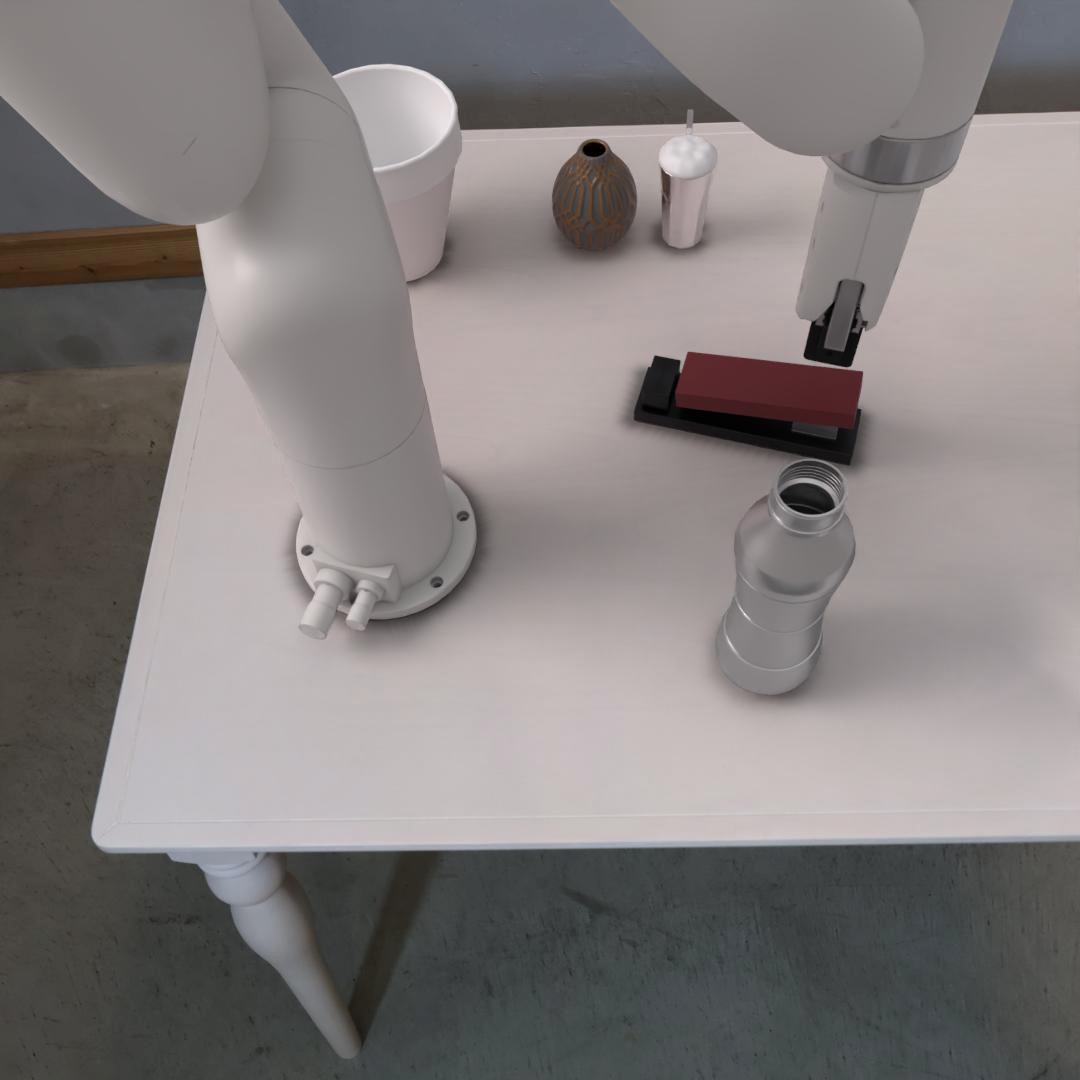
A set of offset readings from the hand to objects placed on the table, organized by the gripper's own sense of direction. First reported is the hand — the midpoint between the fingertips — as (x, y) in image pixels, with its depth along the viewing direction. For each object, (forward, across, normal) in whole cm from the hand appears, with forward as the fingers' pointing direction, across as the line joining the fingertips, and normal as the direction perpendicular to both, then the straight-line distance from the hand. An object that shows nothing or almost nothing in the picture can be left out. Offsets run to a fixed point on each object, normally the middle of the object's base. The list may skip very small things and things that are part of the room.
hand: (828, 354), depth 75 cm
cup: (+10, -10, -36) cm, 38 cm away
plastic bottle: (+9, +19, 0) cm, 21 cm away
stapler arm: (+6, 0, -3) cm, 7 cm away
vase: (+9, -16, -20) cm, 28 cm away
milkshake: (+9, -18, -14) cm, 24 cm away
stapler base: (+9, 0, -4) cm, 10 cm away
